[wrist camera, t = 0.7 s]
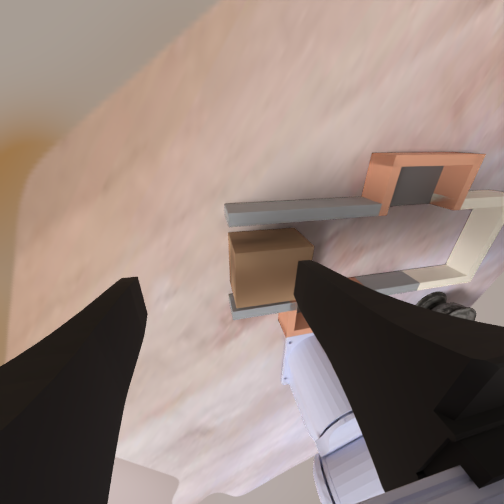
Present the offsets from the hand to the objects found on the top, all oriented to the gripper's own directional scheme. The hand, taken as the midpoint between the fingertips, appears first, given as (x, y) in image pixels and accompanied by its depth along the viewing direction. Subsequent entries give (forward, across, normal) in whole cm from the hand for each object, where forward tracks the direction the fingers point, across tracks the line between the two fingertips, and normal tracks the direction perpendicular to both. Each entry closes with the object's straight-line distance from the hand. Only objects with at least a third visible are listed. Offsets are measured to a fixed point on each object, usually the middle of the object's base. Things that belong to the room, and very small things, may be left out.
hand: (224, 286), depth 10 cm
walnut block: (+9, -4, +4) cm, 11 cm away
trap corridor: (+9, -15, +3) cm, 18 cm away
